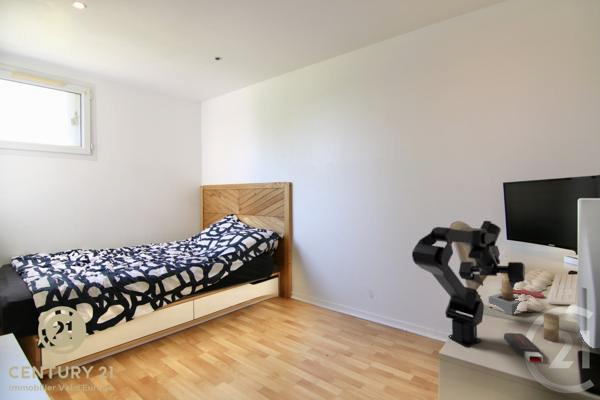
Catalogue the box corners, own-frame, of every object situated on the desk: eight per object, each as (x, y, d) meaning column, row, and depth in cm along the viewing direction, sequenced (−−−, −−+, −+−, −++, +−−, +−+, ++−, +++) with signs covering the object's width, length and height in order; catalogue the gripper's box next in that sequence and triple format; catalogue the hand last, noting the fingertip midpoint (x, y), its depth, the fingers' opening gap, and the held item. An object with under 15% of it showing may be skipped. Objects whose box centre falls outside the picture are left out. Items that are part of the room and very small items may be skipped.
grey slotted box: (511, 315, 107) (511, 304, 106) (488, 307, 114) (488, 296, 114) (527, 310, 110) (527, 299, 109) (504, 302, 118) (504, 292, 117)
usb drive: (523, 340, 91) (523, 331, 91) (547, 364, 79) (547, 353, 79) (503, 339, 92) (503, 330, 92) (524, 362, 80) (524, 352, 80)
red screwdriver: (500, 285, 132) (544, 293, 122) (500, 289, 132) (544, 297, 122) (497, 288, 129) (543, 296, 119) (497, 292, 129) (543, 300, 119)
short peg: (553, 343, 88) (553, 319, 88) (540, 337, 91) (540, 314, 91) (562, 340, 89) (562, 317, 89) (549, 335, 92) (549, 312, 92)
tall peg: (512, 311, 110) (511, 275, 109) (501, 309, 112) (500, 274, 112) (514, 308, 112) (514, 273, 111) (503, 306, 114) (502, 271, 114)
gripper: (519, 237, 98) (530, 267, 104) (457, 239, 111) (471, 266, 118) (517, 265, 91) (530, 295, 98) (452, 264, 105) (467, 291, 111)
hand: (497, 285), depth 106 cm, fingers open, 9 cm apart
